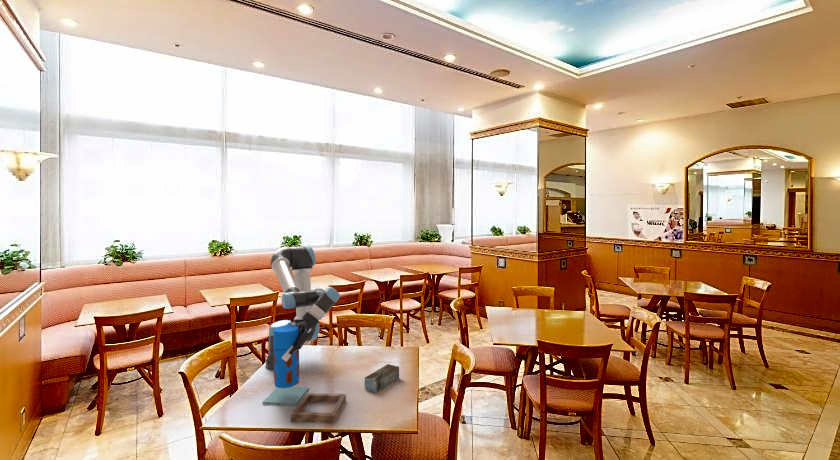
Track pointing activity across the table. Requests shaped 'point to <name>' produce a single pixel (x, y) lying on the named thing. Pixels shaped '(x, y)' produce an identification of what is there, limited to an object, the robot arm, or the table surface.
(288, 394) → the mat
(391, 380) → the beverage carton
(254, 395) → the table surface
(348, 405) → the table surface
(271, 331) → the robot arm
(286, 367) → the thermos
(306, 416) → the dock
